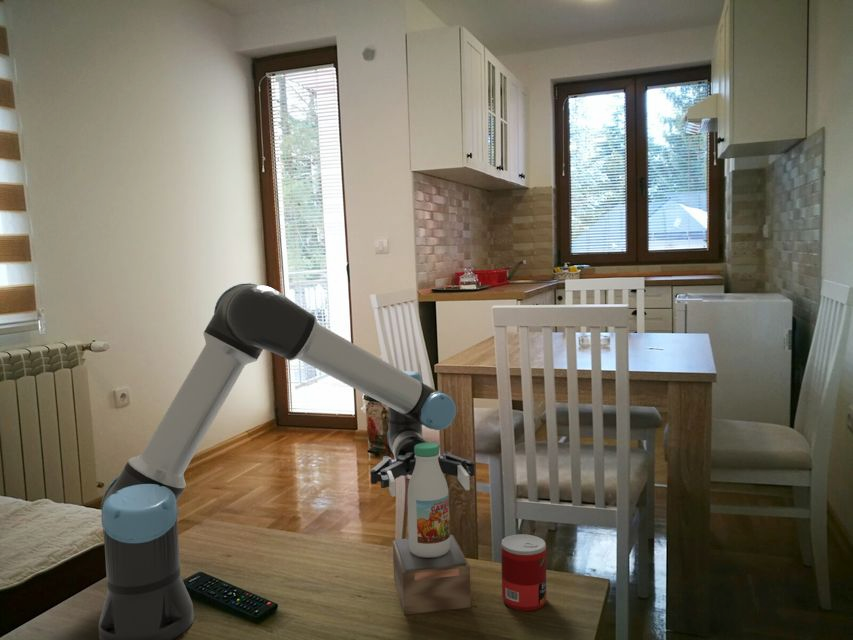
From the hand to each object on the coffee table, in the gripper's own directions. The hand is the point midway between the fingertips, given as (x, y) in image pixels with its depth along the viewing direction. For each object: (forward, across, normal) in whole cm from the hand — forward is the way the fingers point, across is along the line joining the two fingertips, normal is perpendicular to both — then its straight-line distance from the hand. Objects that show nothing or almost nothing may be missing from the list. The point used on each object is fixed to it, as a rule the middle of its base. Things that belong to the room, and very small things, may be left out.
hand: (430, 486), depth 120 cm
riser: (-3, 0, -22) cm, 22 cm away
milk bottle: (-3, 0, -14) cm, 14 cm away
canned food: (+4, -16, -22) cm, 27 cm away
